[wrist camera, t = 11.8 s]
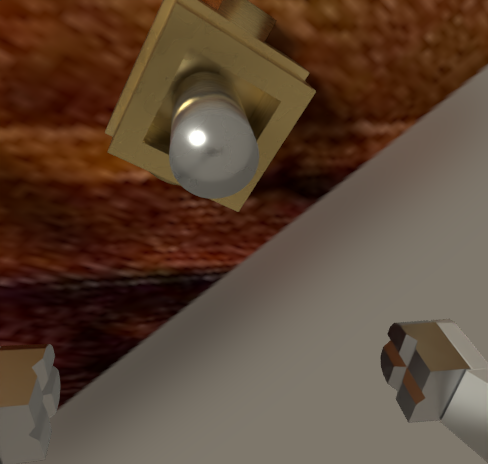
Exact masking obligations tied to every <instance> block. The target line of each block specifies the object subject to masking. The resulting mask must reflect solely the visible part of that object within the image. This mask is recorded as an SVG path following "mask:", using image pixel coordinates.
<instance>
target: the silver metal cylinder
mask: <svg viewBox="0 0 488 464" xmlns="http://www.w3.org/2000/svg"><path fill="white" fill-rule="evenodd" d="M169 162H170V167H171V170H172V173H173V175H174V177H175V178H176V180H177V181H178V182H179V184H180V185H181V186H182V187H183V188H185V189H186V190H187V191H189V192H190V193H192V194H194V195H197V196H199V197H203V198H210V199H217V198H224V197H228V196H231V195H233V194H235V193H237V192H239V191H240V190H242V189H243V188H244V187H245V186H246V185H247V184H248V183H249V182H250V181H251V180H252V178H253V176H254V175H255V173H256V170H257V168H258V163H259V149H258V144H257V141H256V139H255V136H254V134H253V131H252V129H251V126H250V124H249V121H248V119H247V116H246V114H245V111H244V109H243V106H242V104H241V102H240V99H239V97H238V94H237V92H236V90H235V88H234V86H233V85H232V84H231V83H230V81H228V80H227V79H226V78H225V77H223V76H221V75H219V74H217V73H213V72H198V73H195V74H192V75H190V76H188V77H187V78H186V79H184V80H183V81H182V82H181V83H180V85H179V86H178V88H177V89H176V92H175V94H174V98H173V109H172V123H171V136H170V150H169Z"/></svg>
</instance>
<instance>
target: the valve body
mask: <svg viewBox="0 0 488 464" xmlns="http://www.w3.org/2000/svg"><path fill="white" fill-rule="evenodd" d="M275 23H276V20H275V19H273V18H272V17H271V16H269V15H268V14H266V13H265V12H263V11H262V10H260V9H259V8H258V7H256V6H255V5H253V4H252V3H250V2H249V1H247V0H223V1H222V3H221V5H220V7H219V9H218V11H217V10H216V9H214V8H213V7H211V6H210V5H208V4H206V3H205V2H203V1H202V0H163V1H162V3H161V6H160V8H159V10H158V12H157V15H156V17H155V19H154V21H153V23H152V26H151V28H150V30H149V32H148V35H147V37H146V39H145V41H144V44H143V46H142V48H141V50H140V53H139V55H138V57H137V59H136V62H135V64H134V66H133V68H132V70H131V73H130V75H129V77H128V79H127V82H126V84H125V86H124V88H123V91H122V93H121V95H120V97H119V100H118V102H117V104H116V106H115V109H114V111H113V113H112V115H111V118H110V121H109V123H108V126H107V128H106V131H105V133H106V134H108V135H110V136H113V137H112V140H111V143H110V146H109V149H108V153H110V154H112V155H114V156H117V157H119V158H121V159H123V160H125V161H128V162H130V163H132V164H134V165H136V166H139V167H141V168H143V169H145V170H147V171H149V172H150V173H151V174H153V175H154V176H156V177H157V178H159V179H161V180H163V181H165V182H167V183H170V184H174V185H180V184H179V182H178V181H177V180H176V178H175V177H174V175H173V173H172V170H171V167H170V162H169V150H170V136H171V123H172V109H173V98H174V94H175V92H176V89H177V88H178V86H179V85H180V83H181V82H182V81H183V80H184V79H186V78H187V77H188V76H190V75H192V74H195V73H198V72H213V73H217V74H219V75H221V76H223V77H225V78H226V79H227V80H228V81H230V83H231V84H232V85H233V86H234V88H235V90H236V92H237V94H238V97H239V99H240V102H241V104H242V106H243V109H244V111H245V114H246V116H247V119H248V121H249V124H250V126H251V129H252V131H253V134H254V136H255V139H256V141H257V144H258V149H259V163H258V168H257V170H256V173H255V175H254V176H253V178H252V180H251V181H250V182H249V183H248V184H247V185H246V186H245V187H244V188H243V189H242V190H240V191H239V192H237V193H235V194H233V195H231V196H228V197H224V198H217V199H211V200H213V201H215V202H218V203H220V204H222V205H224V206H226V207H229V208H231V209H233V210H235V211H237V212H239V210H240V209H241V207H242V206H243V204H244V202H245V201H246V199H247V198H248V196H249V195H250V193H251V192H252V190H253V189H254V187H255V185H256V184H257V182H258V181H259V179H260V178H261V176H262V175H263V173H264V171H265V170H266V168H267V167H268V165H269V164H270V162H271V161H272V159H273V158H274V156H275V154H276V153H277V151H278V150H279V148H280V147H281V145H282V144H283V142H284V141H285V139H286V137H287V136H288V134H289V133H290V131H291V130H292V128H293V127H294V125H295V124H296V122H297V120H298V119H299V117H300V116H301V114H302V113H303V111H304V110H305V108H306V106H307V105H308V103H309V102H310V100H311V99H312V97H313V96H314V94H315V93H316V91H315V90H314V89H313V88H312V87H311V86H310V85H309V84H308V83H307V82H305V79H306V78H307V76H308V75H309V72H308V71H307V70H306V69H304V68H303V67H302V66H301V65H299V64H298V63H297V62H296V61H294V60H293V59H291V58H290V57H288V56H287V55H285V54H284V53H282V52H281V51H279V50H277V49H276V48H274V47H273V46H271V45H270V44H268V43H267V42H265V41H266V39H267V37H268V35H269V34H270V32H271V30H272V28H273V26H274V25H275ZM180 186H181V185H180ZM209 199H210V198H209Z"/></svg>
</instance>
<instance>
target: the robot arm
mask: <svg viewBox="0 0 488 464" xmlns="http://www.w3.org/2000/svg"><path fill="white" fill-rule="evenodd" d="M388 336H389V337H390V339H391V341H389V342H388V343H387V344H386V345H385V346H384V347H383V350H382V353H381V368H382V372H383V375H384V377H385V379H386V381H387V383H388V384H389V385H390V386H391V387H393V388H394V389H396V390H397V391H398V392H397V396H396V400H397V402H398V404H399V406H400V407H401V409H402V411H403V413H404V415H405V417H406V419H407V420H408V422H424V421H437V420H441V423H442V424H443V425H445V426H446V427H447V428H448V429H449V430H451V431H452V432H453V433H454V434H455V435H456V436H457V437H458V438H460V439H461V440H462V441H463V442H464V443H466V444H467V445H468V446H469V447H470V448H471V449H473V450H474V451H475V452H476V453H477V454H478V455H479V456H481V457H482V458H483V459H484V460H485V461H486V462H487V463H488V363H487V361H486V360H485V359H484V358H483V356H482V355H481V354H480V353H479V351H478V350H477V349H476V348H475V347H474V345H473V344H472V343H471V341H470V340H469V339H468V338H467V337H466V336H465V334H464V333H463V332H462V330H461V329H460V328H459V327H458V325H457V324H456V323H455V322H453V321H452V320H450V319H443V320H431V321H415V322H401V323H394V324H393V325H392V326H391V327H390V329H389V332H388ZM54 357H55V355H54V351H53V347H52V345H50V344H42V345H15V346H1V347H0V464H18V463H26V462H34V461H41V460H45V457H46V453H47V449H48V445H49V441H50V436H51V433H52V430H51V425H50V421H49V419H50V418H51V417H52V416H53V415H54V414H55V413H56V412H57V407H58V403H59V395H60V377H59V373H58V369H56V368H55V367H53V366H52V364H53V361H54Z"/></svg>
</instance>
